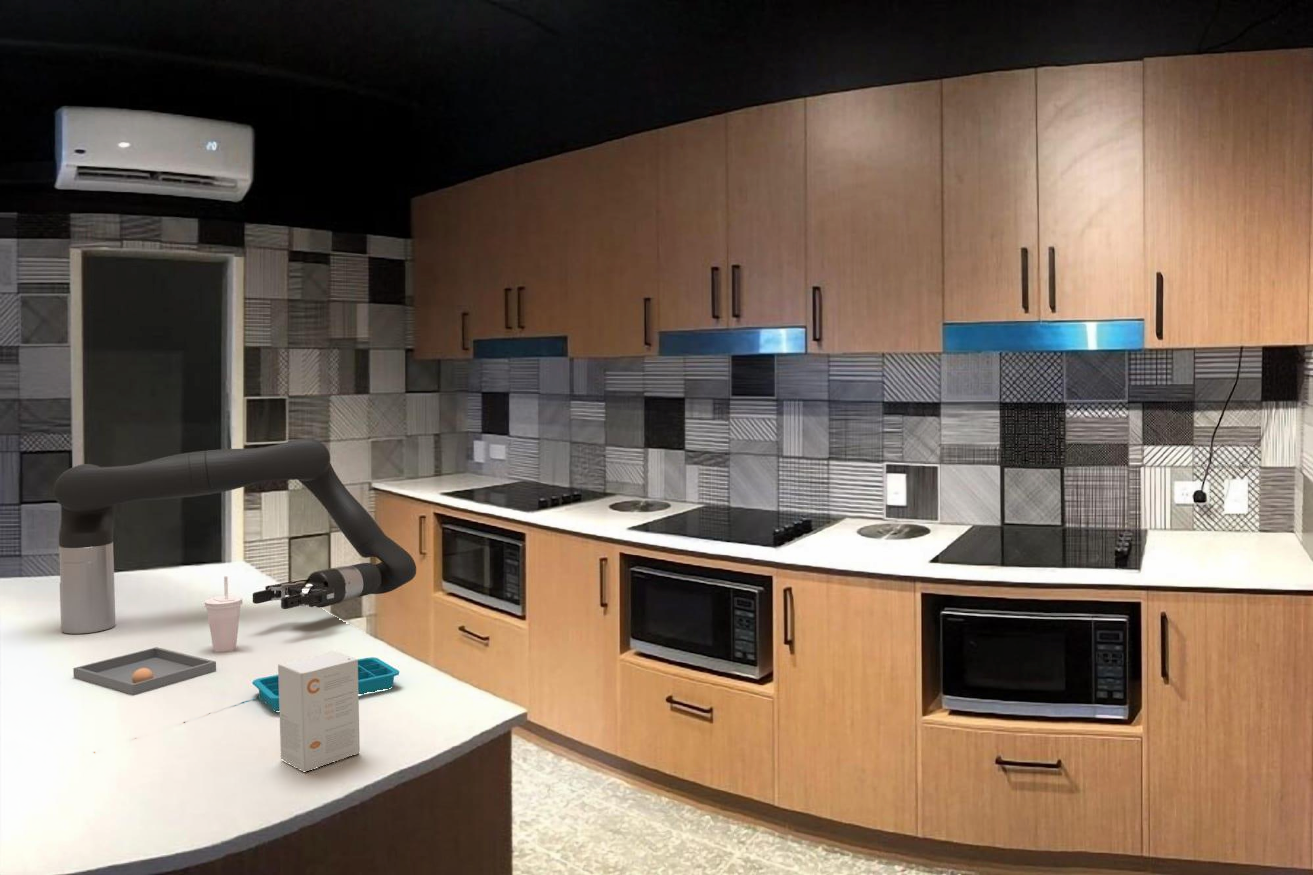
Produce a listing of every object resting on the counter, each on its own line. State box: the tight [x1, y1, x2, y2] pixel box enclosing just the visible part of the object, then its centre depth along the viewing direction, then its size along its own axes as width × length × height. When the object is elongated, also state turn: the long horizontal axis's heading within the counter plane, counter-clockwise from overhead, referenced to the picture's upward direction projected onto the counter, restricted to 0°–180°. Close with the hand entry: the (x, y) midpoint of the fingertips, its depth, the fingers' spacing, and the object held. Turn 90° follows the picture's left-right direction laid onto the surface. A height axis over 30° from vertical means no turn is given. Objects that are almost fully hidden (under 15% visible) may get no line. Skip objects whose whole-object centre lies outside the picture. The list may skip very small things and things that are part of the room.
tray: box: [72, 646, 217, 696], centre depth 152 cm, size 17×14×2 cm
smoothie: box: [204, 575, 243, 653], centre depth 166 cm, size 6×6×14 cm
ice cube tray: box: [252, 656, 400, 712], centre depth 144 cm, size 12×20×3 cm, turn 129°
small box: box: [277, 650, 361, 772], centre depth 118 cm, size 8×6×13 cm
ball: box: [132, 668, 153, 683], centre depth 145 cm, size 3×3×3 cm
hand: (267, 601), depth 175 cm, fingers open, 8 cm apart
